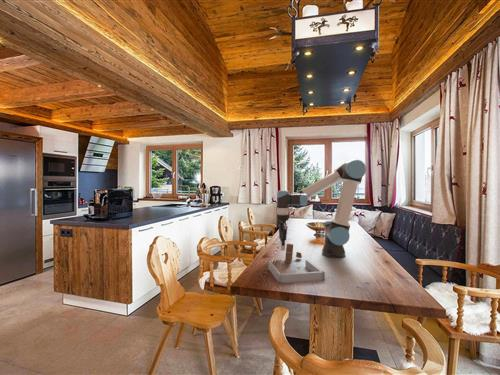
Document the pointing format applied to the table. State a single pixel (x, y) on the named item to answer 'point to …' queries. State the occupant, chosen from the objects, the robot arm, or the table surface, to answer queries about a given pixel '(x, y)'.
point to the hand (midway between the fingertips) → (282, 250)
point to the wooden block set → (290, 253)
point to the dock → (298, 274)
